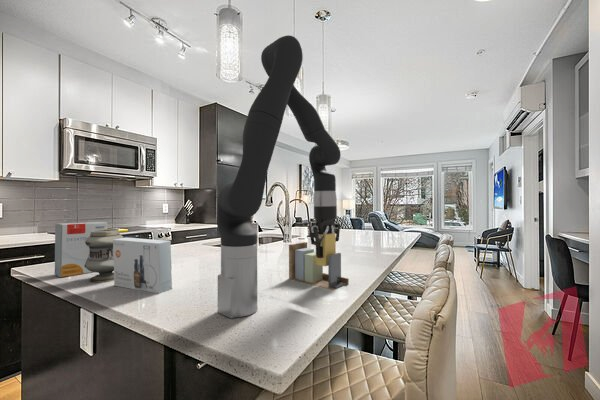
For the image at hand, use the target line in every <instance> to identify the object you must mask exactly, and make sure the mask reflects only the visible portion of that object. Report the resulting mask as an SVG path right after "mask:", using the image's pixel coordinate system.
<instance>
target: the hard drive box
mask: <svg viewBox="0 0 600 400" xmlns="http://www.w3.org/2000/svg"><path fill="white" fill-rule="evenodd" d="M101 229H108V222H106V221H105V222H104V221H87V222H86V221H85V222H83V221H81V222H64V223H60V222H59V223H55V225H54V235H55V236H54V275H55V276H57V277H58V278H63V277H64V278H65V277H73V276H77V275H82V274H89V273H93V272H92V271H89V270H88V269H87V268H86V266H85V264H86V262H87V261H88V260H89V257H90V252H89V246H87V245H86V244H85V241H86V239H87V238H88V237H90V234H91V231H93V230H101Z"/></svg>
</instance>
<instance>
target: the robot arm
mask: <svg viewBox="0 0 600 400" xmlns="http://www.w3.org/2000/svg"><path fill="white" fill-rule="evenodd" d="M260 56H261V58H260V61H261V64H262V67H263V69H264V72H265V73H266V75H267V76H268V78H267V81H266V82H265V84H264V85H263V87H262V88H261V90H260V91H259V92H258V94H257V96H256V98H255V99H254V101H253V102H252V104H251V106H250V108H249V110H248V113H247V115H246V116H247V117H246V119H245V123H244V126H243V132H242V156H241V163H240V166H239V169H238V172H237V173H236V176H235V178H234V181H233V182H230V183H227V184H226V185H224V186H223V187H222V188H221V190H219V194H218V197H217V227H218V234H219V237H220V238H219V239H220V274H217V313H218V314H220V315H223V316H225V317H227V318H229V319H233V318H234V319H235V318H240V317H241V318H242V317H246V316H251V315H252V314H255V313H256V312H257V311H258V234H257V232H256V230H255V229H254V226H253V223H252V217H253V216H255V215H256V214H257V213H258V212H259V210H260V208H261V205H262V203H263V198H264V191H265V186H266V180H267V175H268V171H269V167H270V163H271V161H272V158H273V154H274V150H275V147H276V144H277V141H278V137H279V135H280V131H281V127H282V124H283V119H284V115H285V113H286V112H285V111H286V109H287V107H288V108H289V109H290V111H291V112H292V114H293V116H294V119H295V120H296V122H297V125H298V127H299V128H300V132H301V133H302V135H303V138H304V139H305V140H306V142H308V143H313V144H316V145H315V146H313V147H312V148H311V149H310V151H309V154H308V161H309V165H310V169H311V172H312V176H313V179H314V180H313V182H314V185H313V186H314V187H313V188H314V190H313V191H314V195H313V219H314V220H315V224H314V225H313V226H312V225H310V226H309V227H308V229H309V230H308V231H309V237H310V243H311V245H314V246H315V252H316V256H317V258H323V239H324V235H326V234H330V233H335V236H336V242H339V241H340V232H341V223H336V222H335V220H337V218H338V212H337V211H338V210H337V209H338V205H337V204H338V203H337V200H338V199H337V192H336V190H337V188H336V187H337V184H336V183H337V181H336V175H335V174H334V173H332V172H328V171H327V169H326V166H334V165H336V164H338V163H339V161H340V160H341V155H342V154H341V149H340V147H339V144H338V143H337V142H336V141H335V139H334V138H333V137H332V135H331V134H330V133H329V132H328V131H327V130H326V128H325V125H324V123H323V121H322V119H321V117H320V114H319V112H318V110H317V108H316V107H315V105H314V104H313V103H312V102H311V101H310V100H308V98H307V97H305V95H304V94H302V92H301V91H300V90H299V89H298V88H297V86H296V85H295V81H296V79H297V77H298V76H299V73H300V70H301V67H302V64H303V61H304V51H303V48H302V44H301V43H300V41H299V40H298V38H296V37H295V36H293V35H289V34H288V35H283V36H280V37H278V38H277V39H276V40H274V41H273V42H271V43H270V44H269V45H267V46H266V47H264V49H263V50H262V52H261V55H260ZM318 234H323V236H318ZM319 239H321V240H320V242H319Z"/></svg>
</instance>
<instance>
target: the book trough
mask: <svg viewBox="0 0 600 400" xmlns="http://www.w3.org/2000/svg"><path fill="white" fill-rule="evenodd" d="M302 248H308V242H306V241H304V242H298V243H292V244H289V245H288V279H290V280H293V281H296V282H300V283H305V284H309V285H313V286H315V287H316V286H317V287H319V288H324V289H327V290H330V291H335V290H338V289H341V288H343V287H345V286H347V285H349V283H350V282H349V280H350V279H349V278H348V277H344V276H341V282H344V283H346V285H344V286H341V287H339V288H336V289H335V288H331V287H328V273H325V272H323V280H320V281H317V282H314V283H311V282H307V281H305V280H304V281H303V280H299V279H295V250H297V249H302Z"/></svg>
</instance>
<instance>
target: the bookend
mask: <svg viewBox="0 0 600 400" xmlns="http://www.w3.org/2000/svg"><path fill="white" fill-rule="evenodd" d="M327 267H328V268H327V269H328V270H327V271H328V273H327V274H328V287H331V288H335V290H337V289H336V288H338V289H340V288H342V287H341V286H343V287H345V286H347V285H346V283H344V282H341V277H342V252H336V253H335V254H331V255H328V266H327ZM344 285H345V286H344ZM339 287H340V288H339Z"/></svg>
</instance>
